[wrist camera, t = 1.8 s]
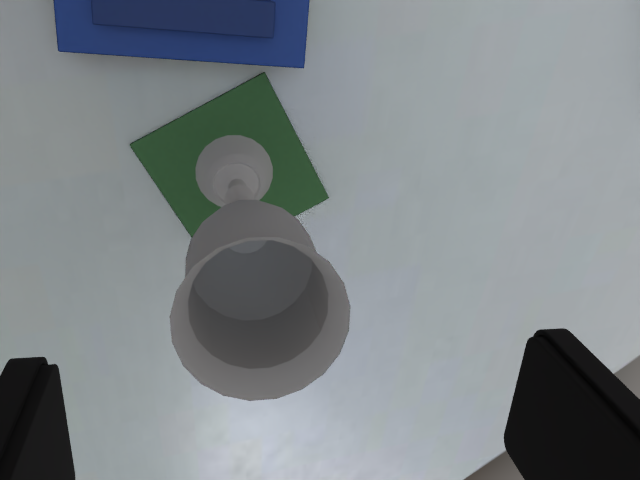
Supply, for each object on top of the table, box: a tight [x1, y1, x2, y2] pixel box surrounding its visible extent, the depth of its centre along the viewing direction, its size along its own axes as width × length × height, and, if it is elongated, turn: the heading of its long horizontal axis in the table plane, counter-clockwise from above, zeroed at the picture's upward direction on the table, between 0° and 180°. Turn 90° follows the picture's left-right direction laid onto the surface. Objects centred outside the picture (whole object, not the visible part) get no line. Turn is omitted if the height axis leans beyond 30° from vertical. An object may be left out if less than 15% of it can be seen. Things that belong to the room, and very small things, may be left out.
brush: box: [54, 0, 309, 68], centre depth 31 cm, size 13×5×5 cm, turn 85°
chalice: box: [170, 135, 350, 401], centre depth 30 cm, size 7×7×18 cm
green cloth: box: [130, 72, 329, 237], centre depth 38 cm, size 10×10×1 cm
